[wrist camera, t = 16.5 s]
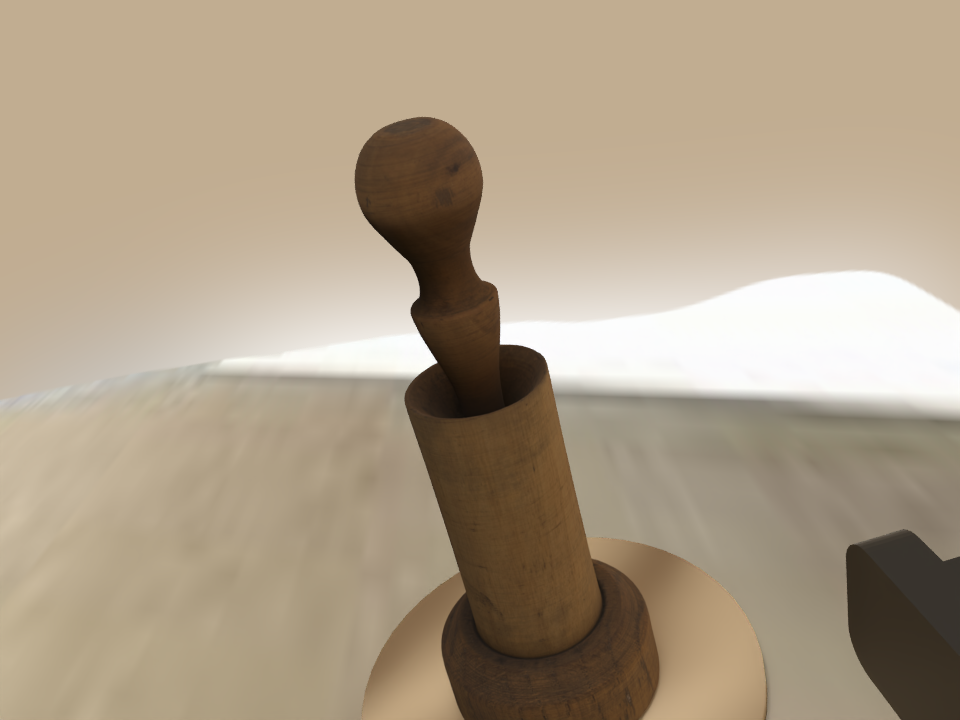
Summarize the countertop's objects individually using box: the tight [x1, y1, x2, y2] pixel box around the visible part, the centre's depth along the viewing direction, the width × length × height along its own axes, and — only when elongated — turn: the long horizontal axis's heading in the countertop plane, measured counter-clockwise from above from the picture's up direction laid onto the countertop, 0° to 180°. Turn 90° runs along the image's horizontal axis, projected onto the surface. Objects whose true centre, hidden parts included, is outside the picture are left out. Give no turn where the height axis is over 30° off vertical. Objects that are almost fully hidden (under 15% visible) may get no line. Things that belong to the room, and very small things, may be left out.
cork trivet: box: [362, 538, 767, 720], centre depth 28 cm, size 13×13×1 cm
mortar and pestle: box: [355, 117, 659, 720], centre depth 24 cm, size 7×6×18 cm
